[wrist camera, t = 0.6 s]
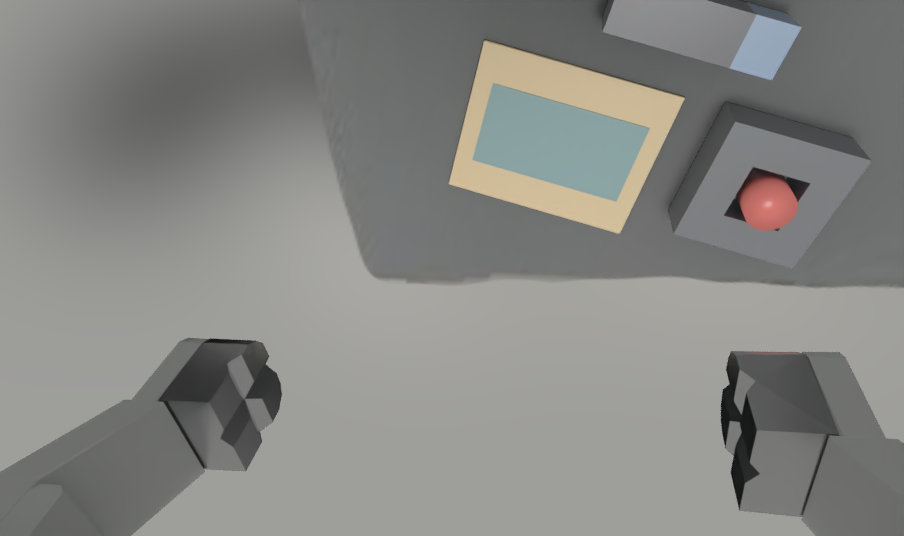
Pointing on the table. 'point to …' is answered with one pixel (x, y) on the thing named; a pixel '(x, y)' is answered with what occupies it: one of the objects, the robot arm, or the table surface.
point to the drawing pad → (560, 136)
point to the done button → (766, 200)
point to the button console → (775, 150)
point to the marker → (707, 31)
